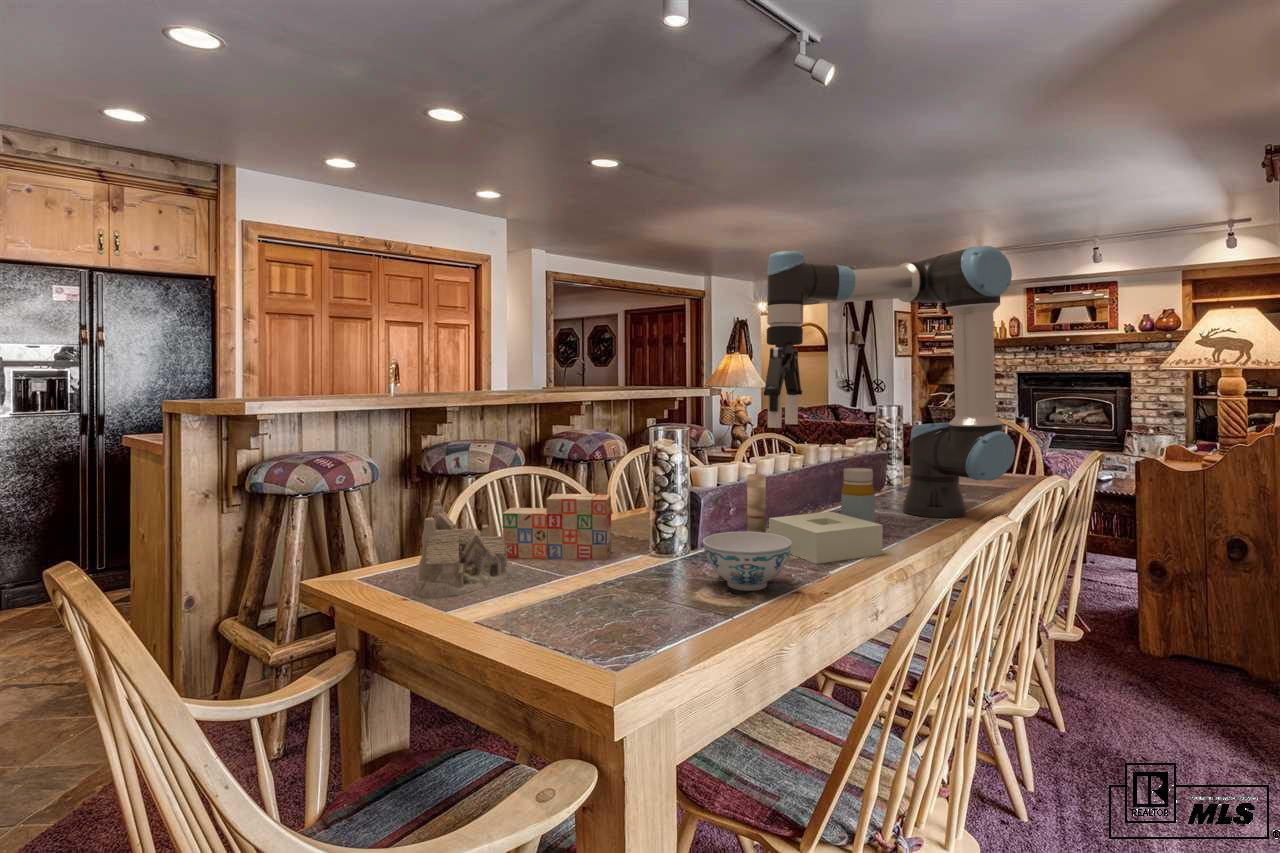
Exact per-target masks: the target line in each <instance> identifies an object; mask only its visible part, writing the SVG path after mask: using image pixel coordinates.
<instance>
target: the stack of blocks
mask: <svg viewBox="0 0 1280 853" xmlns="http://www.w3.org/2000/svg"><path fill="white" fill-rule="evenodd" d="M545 501H546V507H545V508H544V507H543V508H541V507H510V508H507V509H506V510H505V511H504V512H503V513H502V515H501V516H502V517H501V518H502V536H504V538H505V547H506V551H507V553H506V554H507V555H508V556H507V559H508V558H510V559H511V558H514V559H515V558H516V559H517V558H518V559H553V560H555V559H559V560H560V559H561V560H563V559H564V560H565V559H567V560H608V559H609V557H610V555H611V553H612V495H611V494H596V493H581V494H580V493H552V494H551V495H549V496H548V497H546V499H545Z"/></svg>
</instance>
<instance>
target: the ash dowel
mask: <svg viewBox="0 0 1280 853" xmlns="http://www.w3.org/2000/svg"><path fill="white" fill-rule="evenodd" d="M766 478H767V476H766V474H764V473H763V474H761V473H749V474H747V476H746V479H747V480H746V491H747V492H746V494H747V496H746V498H747V499H746V501H747V502H746V508H747V512H746V518H747V524H746V525H747V526H746V528H747V531H746V532H763V533H767V527H766V523H767V522H766V520H767V518H766V517H767V512H766V511H767V509H766V508H767V506H766V503H767V501H766V500H767V499H766V498H767V496H766V495H767V493H766V492H767V491H766V490H767V489H766V487H767V486H766V484H767V483H766Z"/></svg>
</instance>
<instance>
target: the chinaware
mask: <svg viewBox="0 0 1280 853" xmlns="http://www.w3.org/2000/svg"><path fill="white" fill-rule="evenodd" d="M702 543H703V545H702V546H703V549H704V552H705V553H704V554H705V556H706V559H707V560H708V563H709V564H710V566H711V567H712V569H713V570H714V572H716V573H717V575H718V576H720V577H721V578H722V579H723V580H725V581H726V584H727V586H728V587H729V588H731V589H733V590H738V591H745V592H747V591H753V592H754V591H760V590H763V589H765V588H767V586H768V582H769V581H771V580H773V579H774V578H775V577H776V576H778V574H779V573H780V572H781V571H782V569H784V567H785V566H786V563H787V561H788V559H789V556H790V554H789V553H790V550H791V544H792V542H791V540H789V539H788V538H786V537H783V536H780V535H776V534H770V533H769V532H766V533H763V532H747V531H728V532H719V533H714V534H710V535H707V536H706V537H704V538H703V540H702Z"/></svg>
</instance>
